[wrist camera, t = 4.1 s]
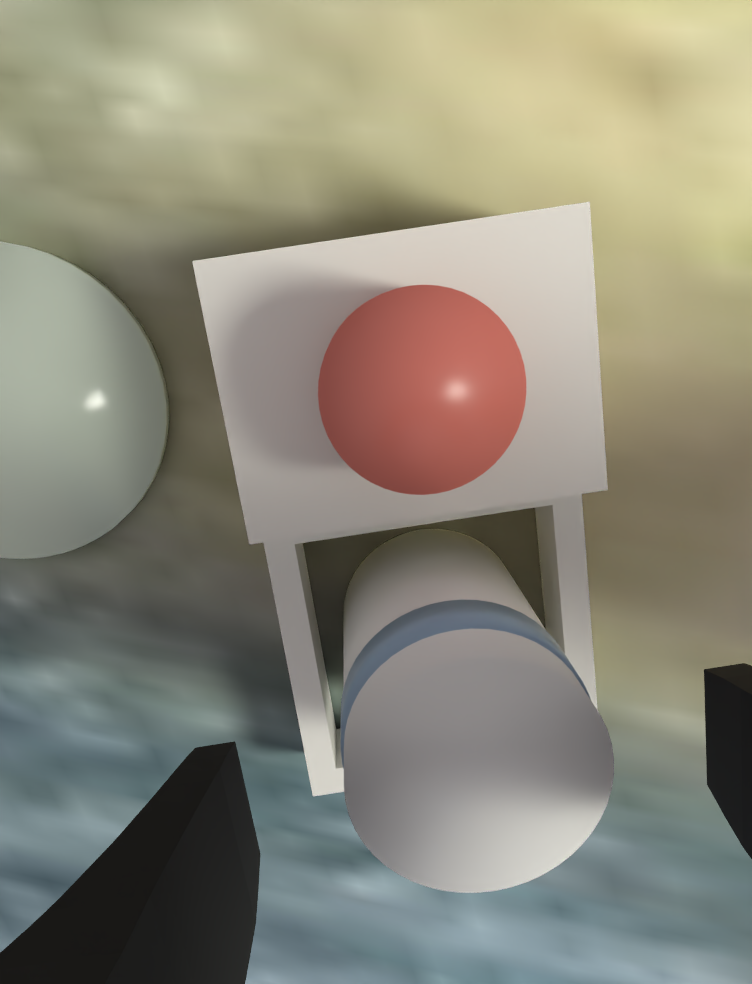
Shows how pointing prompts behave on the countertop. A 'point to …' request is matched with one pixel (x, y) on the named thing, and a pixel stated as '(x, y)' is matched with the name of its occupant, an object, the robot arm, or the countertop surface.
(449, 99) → the countertop surface
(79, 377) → the pale green dome
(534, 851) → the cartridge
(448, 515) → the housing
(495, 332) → the plunger
